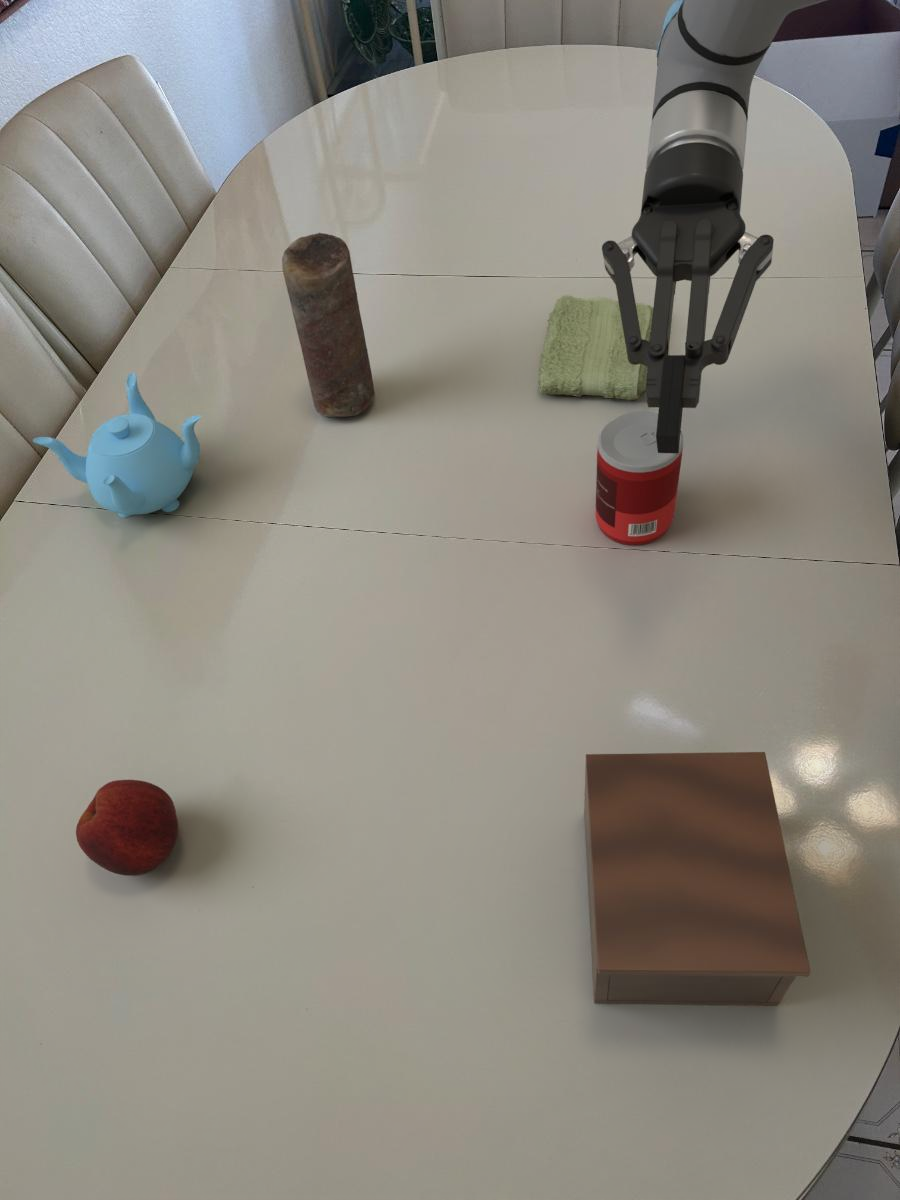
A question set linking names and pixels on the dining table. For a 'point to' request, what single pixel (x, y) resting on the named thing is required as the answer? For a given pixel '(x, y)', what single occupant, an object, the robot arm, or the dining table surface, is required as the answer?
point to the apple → (128, 827)
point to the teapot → (134, 459)
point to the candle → (329, 324)
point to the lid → (690, 867)
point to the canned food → (635, 480)
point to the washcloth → (591, 350)
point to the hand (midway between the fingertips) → (667, 444)
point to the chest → (676, 986)
